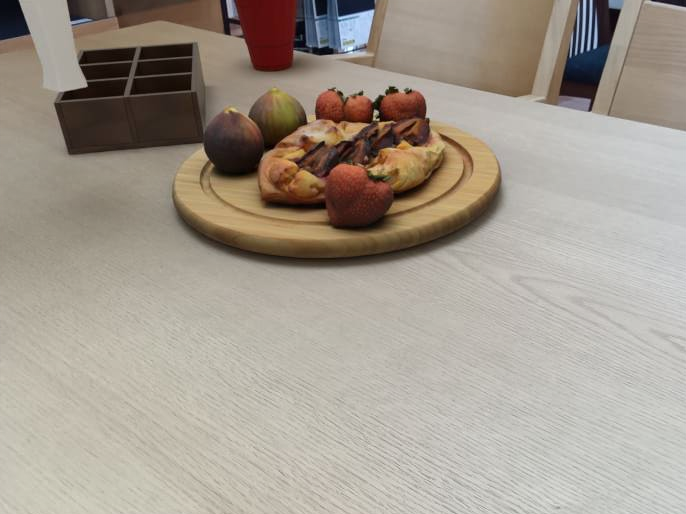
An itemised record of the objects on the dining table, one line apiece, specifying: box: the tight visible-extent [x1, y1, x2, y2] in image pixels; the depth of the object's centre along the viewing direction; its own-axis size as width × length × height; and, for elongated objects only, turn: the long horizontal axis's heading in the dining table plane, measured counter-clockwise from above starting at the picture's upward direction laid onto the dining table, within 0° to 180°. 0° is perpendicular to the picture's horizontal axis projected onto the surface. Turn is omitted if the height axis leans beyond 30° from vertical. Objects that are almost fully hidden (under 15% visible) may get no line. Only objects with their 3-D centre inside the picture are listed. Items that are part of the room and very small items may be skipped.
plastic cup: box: [233, 0, 299, 72], centre depth 106 cm, size 11×11×12 cm
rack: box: [53, 41, 206, 155], centre depth 91 cm, size 15×22×6 cm
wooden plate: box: [171, 85, 502, 259], centre depth 72 cm, size 32×32×8 cm
